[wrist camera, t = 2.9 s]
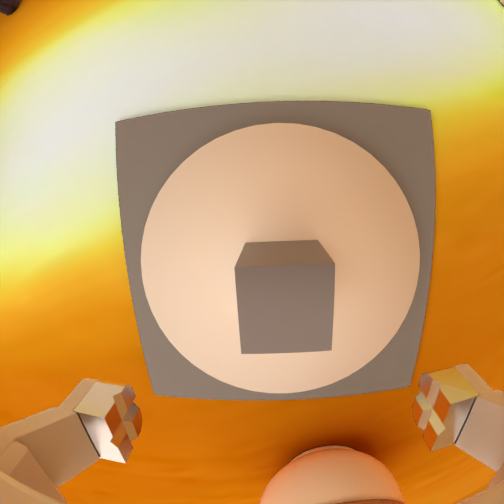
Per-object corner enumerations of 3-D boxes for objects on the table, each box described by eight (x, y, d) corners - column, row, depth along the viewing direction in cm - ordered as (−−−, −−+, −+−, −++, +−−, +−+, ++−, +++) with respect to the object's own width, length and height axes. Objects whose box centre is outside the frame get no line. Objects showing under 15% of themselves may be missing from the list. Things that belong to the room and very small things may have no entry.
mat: (427, 111, 16) (430, 110, 15) (408, 383, 20) (409, 386, 20) (118, 122, 17) (115, 121, 17) (156, 391, 22) (154, 394, 21)
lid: (412, 129, 16) (464, 113, 10) (396, 374, 20) (425, 426, 14) (136, 141, 17) (82, 128, 11) (169, 382, 21) (142, 436, 15)
